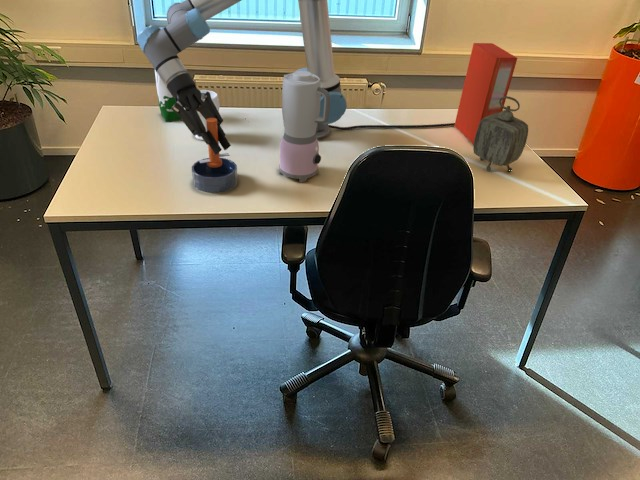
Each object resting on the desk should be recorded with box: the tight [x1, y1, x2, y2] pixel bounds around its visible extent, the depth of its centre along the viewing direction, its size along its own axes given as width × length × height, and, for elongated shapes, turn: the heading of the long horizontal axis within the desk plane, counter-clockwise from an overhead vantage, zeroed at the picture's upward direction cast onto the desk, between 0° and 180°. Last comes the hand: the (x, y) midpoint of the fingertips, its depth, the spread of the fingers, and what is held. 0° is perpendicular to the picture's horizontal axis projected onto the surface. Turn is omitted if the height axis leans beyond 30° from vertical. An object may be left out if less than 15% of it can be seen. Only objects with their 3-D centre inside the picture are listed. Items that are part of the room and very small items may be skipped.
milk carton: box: [154, 69, 185, 122], centre depth 192 cm, size 9×9×20 cm
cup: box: [194, 89, 221, 141], centre depth 182 cm, size 11×11×15 cm
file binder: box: [453, 42, 518, 145], centre depth 191 cm, size 8×17×32 cm, turn 13°
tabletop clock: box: [472, 95, 529, 173], centre depth 171 cm, size 14×9×25 cm, turn 44°
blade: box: [198, 118, 231, 168], centre depth 151 cm, size 9×4×14 cm, turn 113°
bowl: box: [191, 157, 239, 194], centre depth 158 cm, size 13×13×6 cm
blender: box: [278, 70, 330, 183], centre depth 158 cm, size 16×12×32 cm
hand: (223, 149), depth 150 cm, fingers closed on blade, 3 cm apart
